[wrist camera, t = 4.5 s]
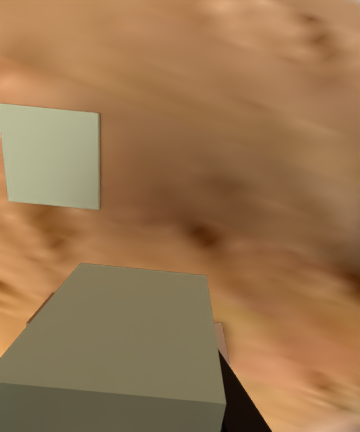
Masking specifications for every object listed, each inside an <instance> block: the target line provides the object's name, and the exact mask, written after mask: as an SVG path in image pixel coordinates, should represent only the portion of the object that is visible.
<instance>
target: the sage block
mask: <svg viewBox="0 0 360 432" xmlns="http://www.w3.org/2000/svg"><path fill="white" fill-rule="evenodd" d="M225 407H226V399H225V393H224V386H223V380H222V373H221V367H220V360H219V353H218V347H217V340H216V334H215V327H214V321H213V314H212V308H211V301H210V295H209V288H208V282H207V275H199V274H189V273H179V272H169V271H158V270H148V269H138V268H128V267H118V266H108V265H98V264H87V263H80V264H79V265H78V266H77V268H76V269H75V270H74V271H73V272H72V274H71V275H70V276H69V277H68V278H67V279H66V281H65V282H64V283H63V284H62V285H61V287H60V288H59V289H58V290H57V291H56V293H55V294H54V295H53V296H52V297H51V298H50V300H49V301H48V302H47V303H46V304H45V306H44V307H43V308H42V309H41V310H40V311H39V313H38V314H37V315H36V316H35V317H34V319H33V320H32V321H31V322H30V323H29V325H28V326H27V327H26V328H25V329H24V330H23V332H22V333H21V334H20V335H19V336H18V338H17V339H16V340H15V341H14V342H13V344H12V345H11V346H10V347H9V348H8V349H7V351H6V352H5V353H4V354H3V355H2V357H1V358H0V432H220V431H221V426H222V421H223V417H224V412H225Z"/></svg>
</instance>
